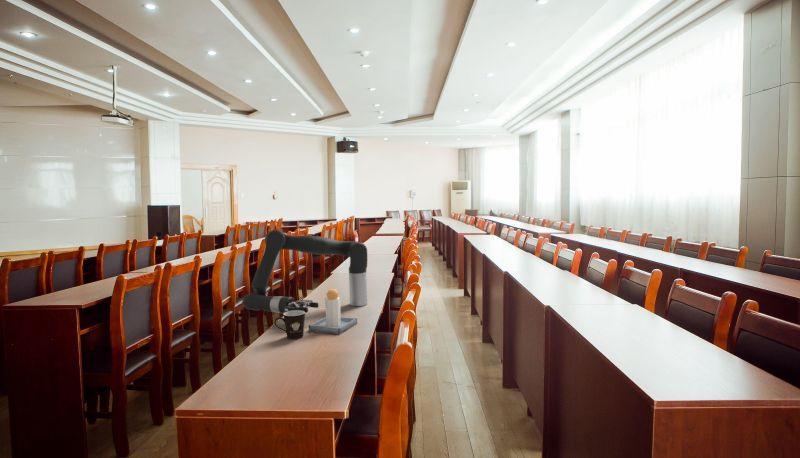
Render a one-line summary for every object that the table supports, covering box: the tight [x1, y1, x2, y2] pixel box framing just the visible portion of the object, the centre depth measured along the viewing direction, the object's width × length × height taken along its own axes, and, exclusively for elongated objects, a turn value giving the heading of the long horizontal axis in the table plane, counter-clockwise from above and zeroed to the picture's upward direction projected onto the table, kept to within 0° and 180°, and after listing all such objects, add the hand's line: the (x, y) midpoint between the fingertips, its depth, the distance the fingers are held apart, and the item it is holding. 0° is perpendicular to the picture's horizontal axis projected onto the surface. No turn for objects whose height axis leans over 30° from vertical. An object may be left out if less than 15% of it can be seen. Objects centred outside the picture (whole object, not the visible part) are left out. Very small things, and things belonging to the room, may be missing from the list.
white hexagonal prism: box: [324, 296, 342, 327], centre depth 193 cm, size 6×6×12 cm
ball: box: [326, 288, 339, 299], centre depth 192 cm, size 5×5×5 cm
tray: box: [308, 316, 358, 335], centre depth 193 cm, size 16×15×2 cm
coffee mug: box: [274, 310, 306, 340], centre depth 181 cm, size 12×9×10 cm
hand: (312, 307), depth 197 cm, fingers open, 8 cm apart
